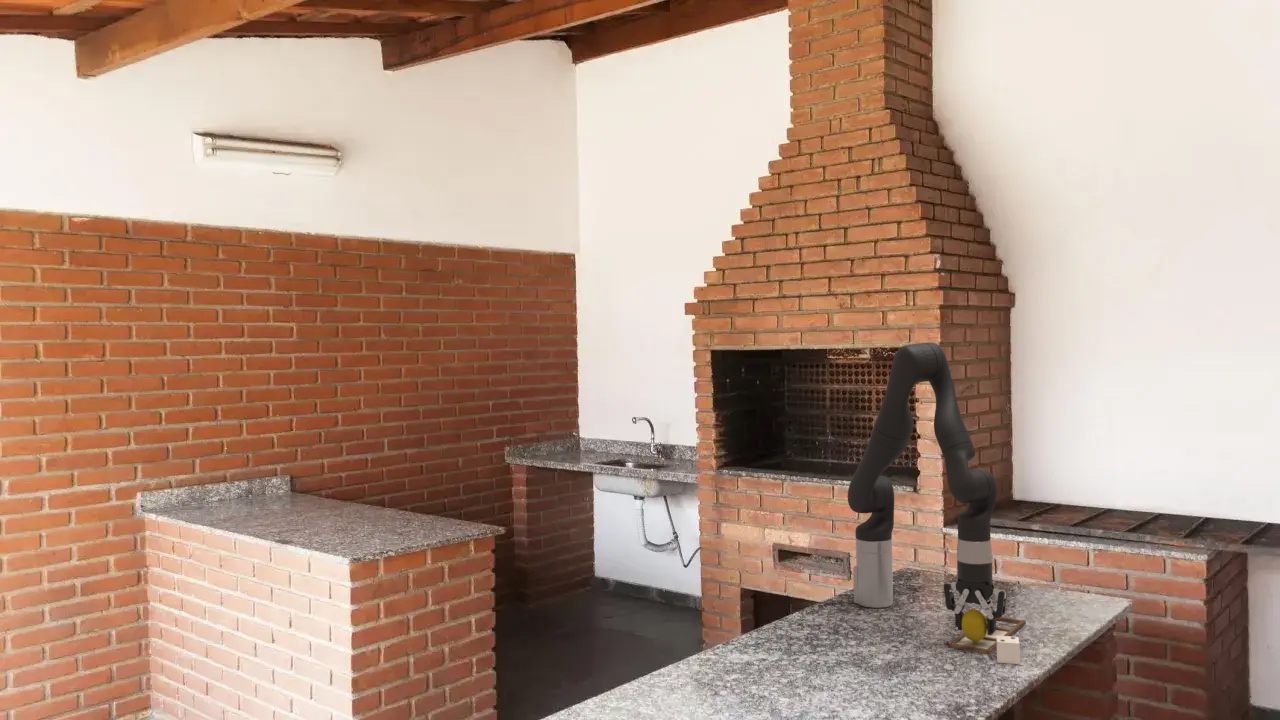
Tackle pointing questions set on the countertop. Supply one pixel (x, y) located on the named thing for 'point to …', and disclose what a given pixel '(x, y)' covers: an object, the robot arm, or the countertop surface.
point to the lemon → (974, 625)
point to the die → (1008, 649)
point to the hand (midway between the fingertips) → (975, 631)
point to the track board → (987, 638)
